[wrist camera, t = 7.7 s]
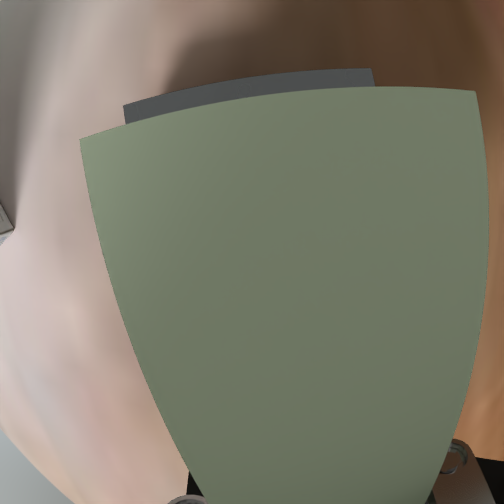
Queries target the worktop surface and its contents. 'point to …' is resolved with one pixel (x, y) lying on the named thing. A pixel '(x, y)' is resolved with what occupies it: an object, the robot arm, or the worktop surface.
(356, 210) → the slat
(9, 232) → the light bulb box
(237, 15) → the worktop surface
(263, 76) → the end caps
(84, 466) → the worktop surface
